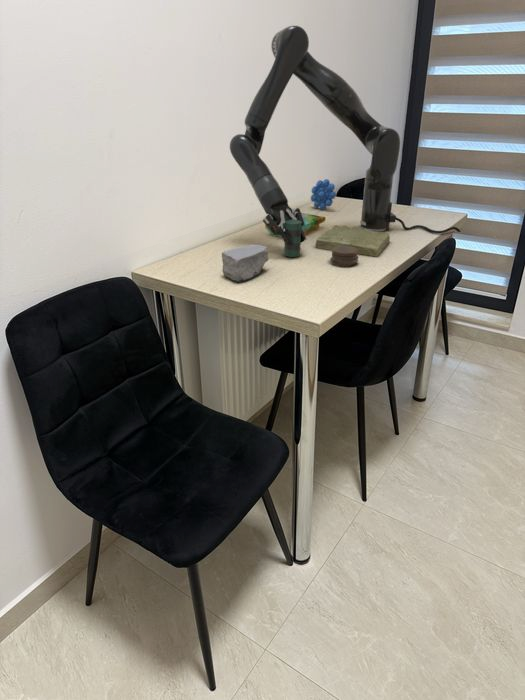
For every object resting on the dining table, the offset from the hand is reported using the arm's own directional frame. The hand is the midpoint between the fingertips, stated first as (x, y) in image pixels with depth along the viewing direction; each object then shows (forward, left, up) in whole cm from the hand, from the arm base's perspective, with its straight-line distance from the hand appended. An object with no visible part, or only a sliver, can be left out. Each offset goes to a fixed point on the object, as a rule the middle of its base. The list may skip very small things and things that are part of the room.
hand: (297, 242), depth 153 cm
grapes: (-22, -57, -5) cm, 62 cm away
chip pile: (-13, +7, -5) cm, 15 cm away
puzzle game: (-5, -27, -5) cm, 28 cm away
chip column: (+1, -2, -4) cm, 5 cm away
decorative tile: (-21, -10, -5) cm, 24 cm away
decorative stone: (+17, +13, -5) cm, 22 cm away
